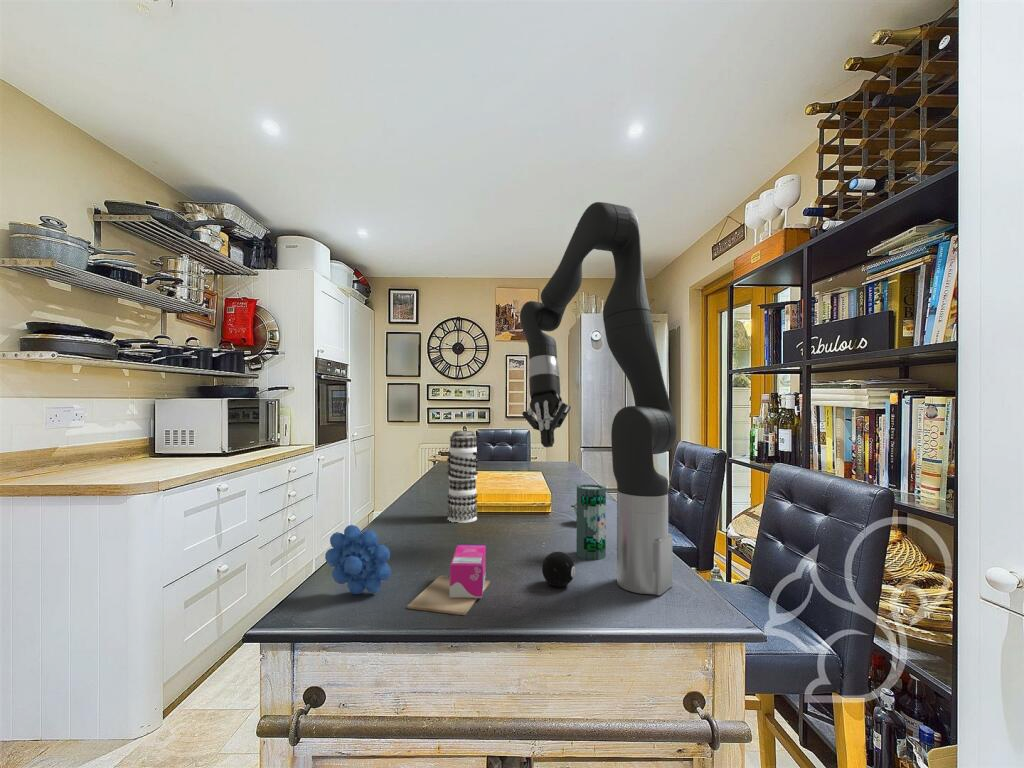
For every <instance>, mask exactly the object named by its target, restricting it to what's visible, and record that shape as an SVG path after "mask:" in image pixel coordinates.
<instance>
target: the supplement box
mask: <svg viewBox="0 0 1024 768" xmlns="http://www.w3.org/2000/svg"><path fill="white" fill-rule="evenodd" d="M486 549H487V545H486V544H457V546H456V548H455V550H454V553H453V556H452V559H451V561H450V565H449V576H450V598H478V599H482V598H483V593H484V591H483V588H484V582H485V580H486V574H487V573H486V552H487V550H486Z"/></svg>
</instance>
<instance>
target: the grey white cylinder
mask: <svg viewBox="0 0 1024 768" xmlns="http://www.w3.org/2000/svg"><path fill="white" fill-rule="evenodd" d="M449 438H450V439H449V442H450V443H449V451H448V452H446V453H447V454H446V456H447V457H448V458H447V459H446V461H447V462H448V465H447V467H446V468H447V469H448V470H447V472H446V473H447V475H448V477H447V478H448V480H449V487H448V495H447V498H448V500H447V504H448V506H447V512H446V514H447V516H448V517H447V521H448V520H449V522H450V521H451V522H450V523H454V522H458V523H457V524H466V523H467V524H468V523H472V522H473V523H474V522H476V521H477V520H478V516H477V515H478V512H477V510H478V506H477V503H478V500H477V497H479V496H478V494H477V486H476V485H477V481H476V480H477V479H478V474H479V472H478V471H477V470H476V469H477V468H479V464H477V463H478V462H480V461H479V459H478V458H477V456H479V455H480V452H478V451H477V449H478V447H477V438H478V436H477V435H476V434H475V433H474V431H470V430H455V431H453V432H452V435H450V436H449Z"/></svg>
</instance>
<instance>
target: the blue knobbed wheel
mask: <svg viewBox="0 0 1024 768" xmlns="http://www.w3.org/2000/svg"><path fill="white" fill-rule="evenodd" d="M329 543H330V546H331V548H329V549H327V551H326V552H325V555H324V557H325V558H324V559H325V562H326V563H327V564H328V565H329V566H331V567H334V568H333V569H332V572H331V577H332V579H333V582H336V583H337V584H341V585H344V584H346V583H347V585H346V586H347V588H348V591H349V592H350V593H352V594H353V595H356V596H357V595H360V594H362V593H364V591H365V590H366V591H367V592H368V593H370V594H375V593H377V592H380V590H381V588H382V581H386V580H388V579H390V578H391V576H392V568H391V567H390V565H389V564H388V563H386V562H388V561H389V559H390V558H391V550H390V549H389V548H388V547H387V545H384V544H383V543H382V544H380V543H379V537H378V534H377V532H375V531H374V530H372V529H365V530H363V531H361V529H360V528H359V527H358V526H356V525H354V524H350V525H347V526H346V527H345V529H344V530H343V533H342V532H339V531H336V532H334V533H332V535H331V536H330V538H329Z"/></svg>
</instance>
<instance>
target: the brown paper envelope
mask: <svg viewBox="0 0 1024 768" xmlns="http://www.w3.org/2000/svg"><path fill="white" fill-rule="evenodd" d="M490 583H491V580H486V579H485V582H484V588H483V592H484V591H485V590H486V589H487V588H488V586H490ZM478 599H479V598H450V575H449V576H448V575H439V576H438V577H437V578H436V579H435V580H434V581H433V582H431V583H430V584H429V585H428V586H427V587H425V589H423V590H422V592H420V593H419V594H418V595H417V596H416V597H415V598H414V599H412V600H411V602H409V603H408V604H407V606H406V609H411V610H417V611H418V610H419V611H426V612H435V613H444V614H452V615H460V616H466V615H467V614H468V611H469V610H470V609H471V608H472V607H473V605H474V604H475V603H476V602H477V600H478Z"/></svg>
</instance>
